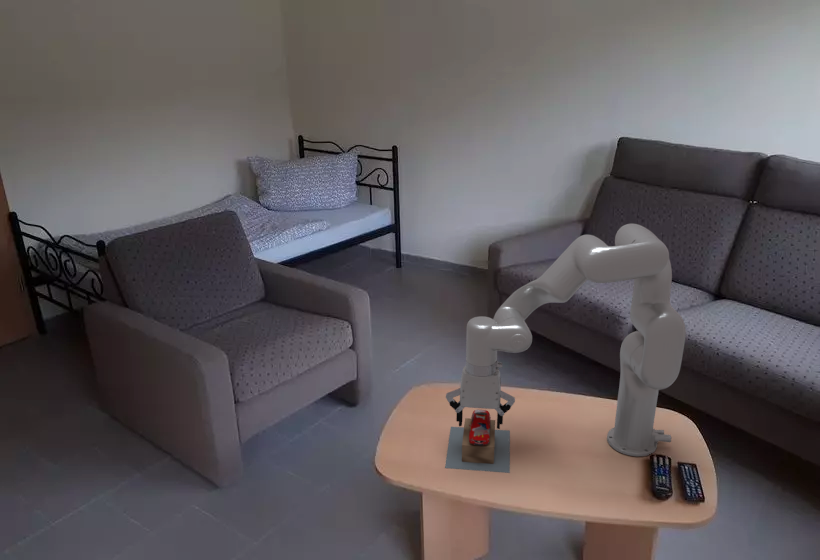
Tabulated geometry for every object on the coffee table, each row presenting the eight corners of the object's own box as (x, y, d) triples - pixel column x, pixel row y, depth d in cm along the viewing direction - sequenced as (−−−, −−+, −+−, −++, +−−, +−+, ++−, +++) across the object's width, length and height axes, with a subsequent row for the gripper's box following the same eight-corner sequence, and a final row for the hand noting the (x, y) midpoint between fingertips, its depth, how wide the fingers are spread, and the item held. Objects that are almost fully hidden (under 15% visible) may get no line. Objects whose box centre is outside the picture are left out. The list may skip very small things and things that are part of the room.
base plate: (509, 434, 182) (509, 430, 181) (509, 476, 165) (509, 472, 165) (450, 430, 184) (450, 426, 183) (444, 471, 167) (444, 467, 167)
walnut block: (494, 435, 179) (495, 420, 177) (493, 464, 168) (494, 447, 166) (464, 433, 180) (464, 418, 178) (461, 461, 169) (462, 445, 167)
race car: (489, 449, 166) (489, 435, 164) (467, 447, 167) (467, 433, 165) (492, 419, 178) (492, 406, 176) (471, 417, 179) (472, 404, 177)
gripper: (516, 360, 167) (513, 418, 174) (447, 356, 170) (446, 414, 176) (516, 375, 160) (513, 435, 167) (444, 371, 163) (444, 430, 169)
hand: (479, 424), depth 171 cm, fingers open, 9 cm apart
